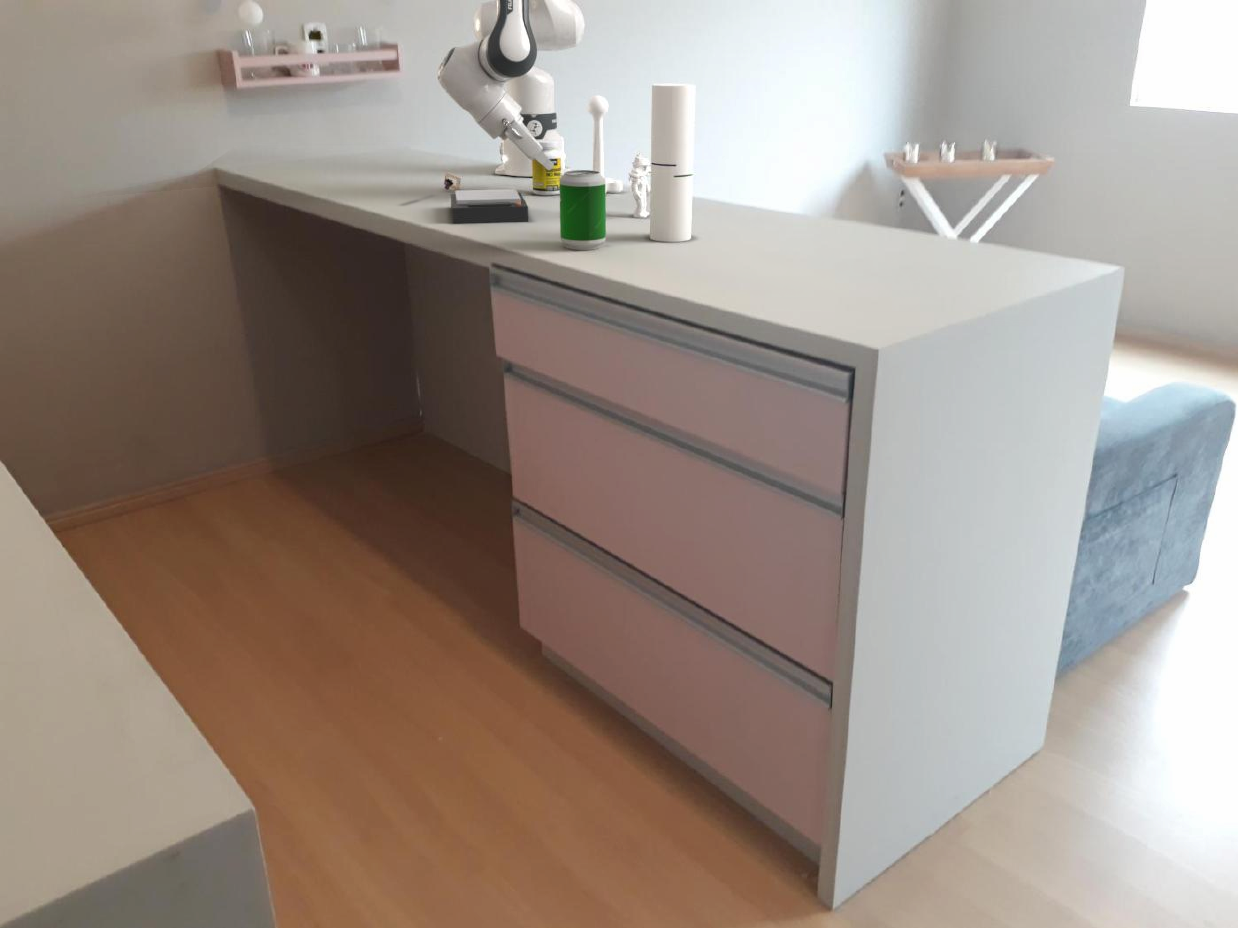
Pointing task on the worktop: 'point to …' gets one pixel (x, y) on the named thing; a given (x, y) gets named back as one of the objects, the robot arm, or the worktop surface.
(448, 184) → the framed picture
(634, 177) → the hat wearing toy figure
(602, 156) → the joystick
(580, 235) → the soda can
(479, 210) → the scale
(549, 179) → the pill bottle
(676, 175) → the cylindrical container
